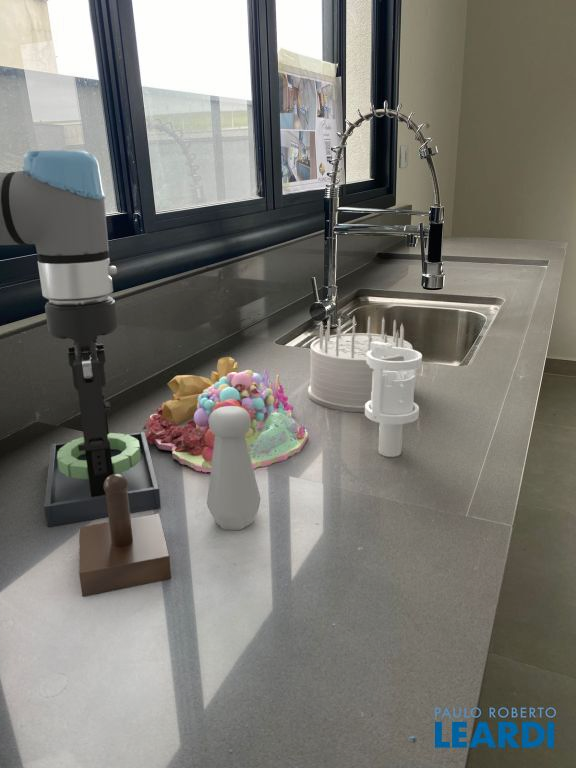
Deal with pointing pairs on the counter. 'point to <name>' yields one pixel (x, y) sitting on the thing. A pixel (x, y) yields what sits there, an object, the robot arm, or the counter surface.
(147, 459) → the tray
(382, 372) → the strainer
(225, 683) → the counter surface
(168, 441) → the multicoloured round lumpy mound
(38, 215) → the robot arm
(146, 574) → the stand
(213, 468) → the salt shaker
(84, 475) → the ring
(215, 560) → the counter surface
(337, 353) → the cake
